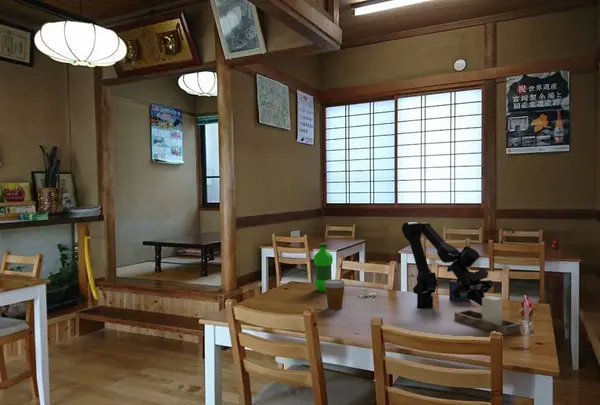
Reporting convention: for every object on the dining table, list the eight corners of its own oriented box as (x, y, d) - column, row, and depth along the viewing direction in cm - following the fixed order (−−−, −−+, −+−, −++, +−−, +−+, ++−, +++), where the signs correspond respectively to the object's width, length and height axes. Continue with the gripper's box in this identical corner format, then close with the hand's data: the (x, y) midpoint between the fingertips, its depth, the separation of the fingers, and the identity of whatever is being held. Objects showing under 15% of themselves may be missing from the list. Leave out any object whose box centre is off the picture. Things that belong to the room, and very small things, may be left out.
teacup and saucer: (377, 296, 223) (377, 288, 223) (371, 299, 216) (371, 291, 216) (361, 294, 228) (361, 286, 228) (354, 297, 221) (354, 289, 221)
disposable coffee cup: (348, 306, 204) (347, 280, 203) (341, 311, 195) (340, 284, 195) (328, 304, 208) (328, 278, 207) (321, 309, 199) (320, 282, 199)
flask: (469, 300, 211) (469, 276, 211) (472, 301, 208) (471, 277, 207) (448, 300, 211) (448, 276, 211) (450, 302, 208) (450, 277, 208)
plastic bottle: (337, 290, 236) (336, 243, 236) (324, 293, 229) (324, 245, 228) (322, 287, 243) (321, 242, 242) (310, 291, 235) (309, 244, 234)
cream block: (482, 323, 170) (482, 297, 170) (491, 321, 173) (490, 296, 172) (493, 327, 166) (493, 300, 166) (502, 324, 168) (502, 298, 168)
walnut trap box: (454, 320, 180) (454, 312, 180) (470, 316, 184) (469, 309, 184) (504, 336, 160) (504, 327, 159) (520, 331, 164) (520, 323, 164)
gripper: (457, 264, 171) (481, 298, 162) (490, 260, 180) (514, 292, 171) (442, 281, 179) (464, 314, 169) (474, 276, 187) (497, 308, 178)
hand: (485, 307), depth 172 cm, fingers closed, pressing on cream block
